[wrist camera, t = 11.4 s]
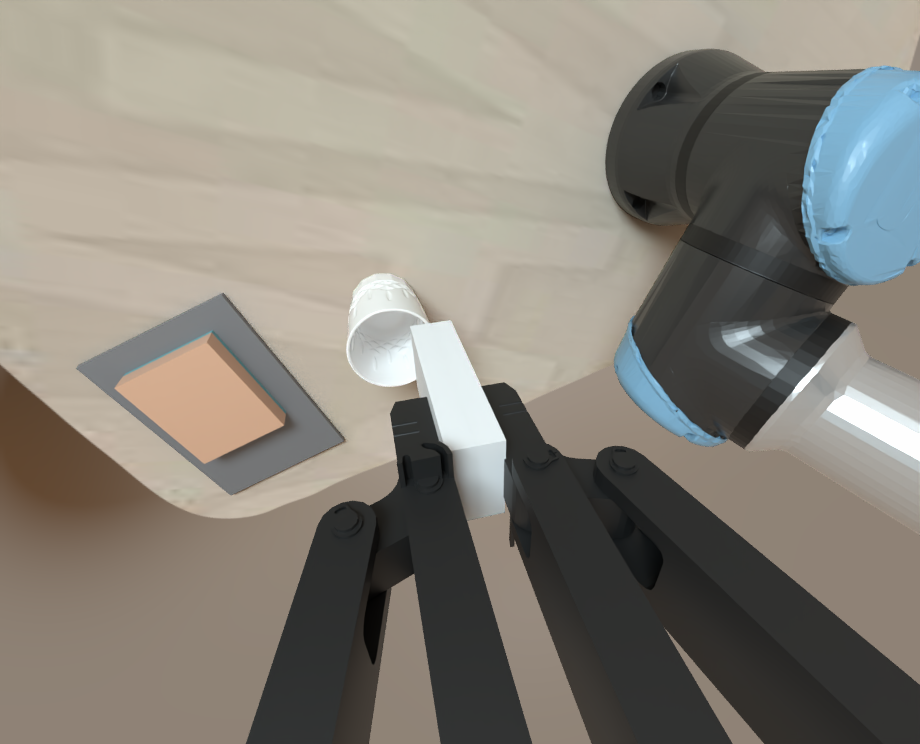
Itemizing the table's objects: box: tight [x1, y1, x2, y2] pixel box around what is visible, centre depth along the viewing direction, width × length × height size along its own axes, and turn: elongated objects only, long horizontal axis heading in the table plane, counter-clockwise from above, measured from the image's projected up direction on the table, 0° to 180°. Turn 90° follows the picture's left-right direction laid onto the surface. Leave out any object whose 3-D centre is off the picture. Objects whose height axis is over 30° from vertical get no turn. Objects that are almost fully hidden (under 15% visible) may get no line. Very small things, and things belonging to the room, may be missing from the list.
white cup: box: [346, 273, 430, 387], centre depth 42 cm, size 8×8×10 cm
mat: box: [76, 293, 344, 495], centre depth 49 cm, size 22×16×1 cm
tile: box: [114, 330, 286, 464], centre depth 46 cm, size 2×10×12 cm
